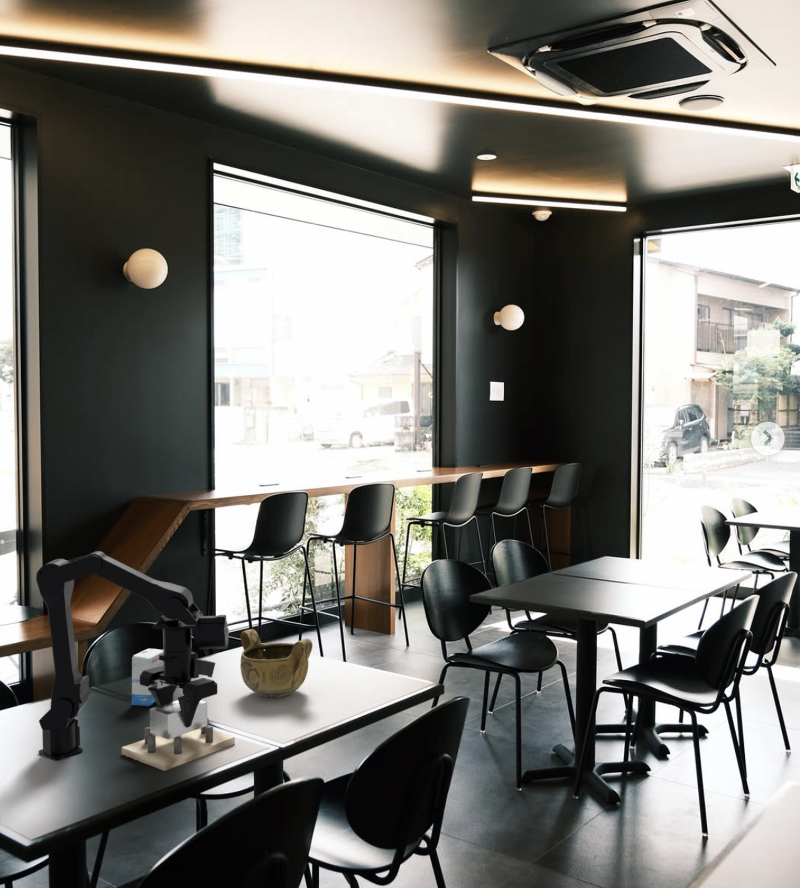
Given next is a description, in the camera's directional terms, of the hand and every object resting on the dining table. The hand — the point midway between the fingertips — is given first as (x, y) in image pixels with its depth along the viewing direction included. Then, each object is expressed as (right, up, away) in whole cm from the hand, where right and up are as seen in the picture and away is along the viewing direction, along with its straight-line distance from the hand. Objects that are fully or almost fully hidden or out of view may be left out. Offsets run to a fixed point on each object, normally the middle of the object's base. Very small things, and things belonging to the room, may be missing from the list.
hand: (178, 723), depth 186 cm
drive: (0, -1, 0) cm, 1 cm away
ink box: (-15, -5, +33) cm, 36 cm away
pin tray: (0, -5, 0) cm, 5 cm away
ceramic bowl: (+15, -4, +37) cm, 40 cm away
